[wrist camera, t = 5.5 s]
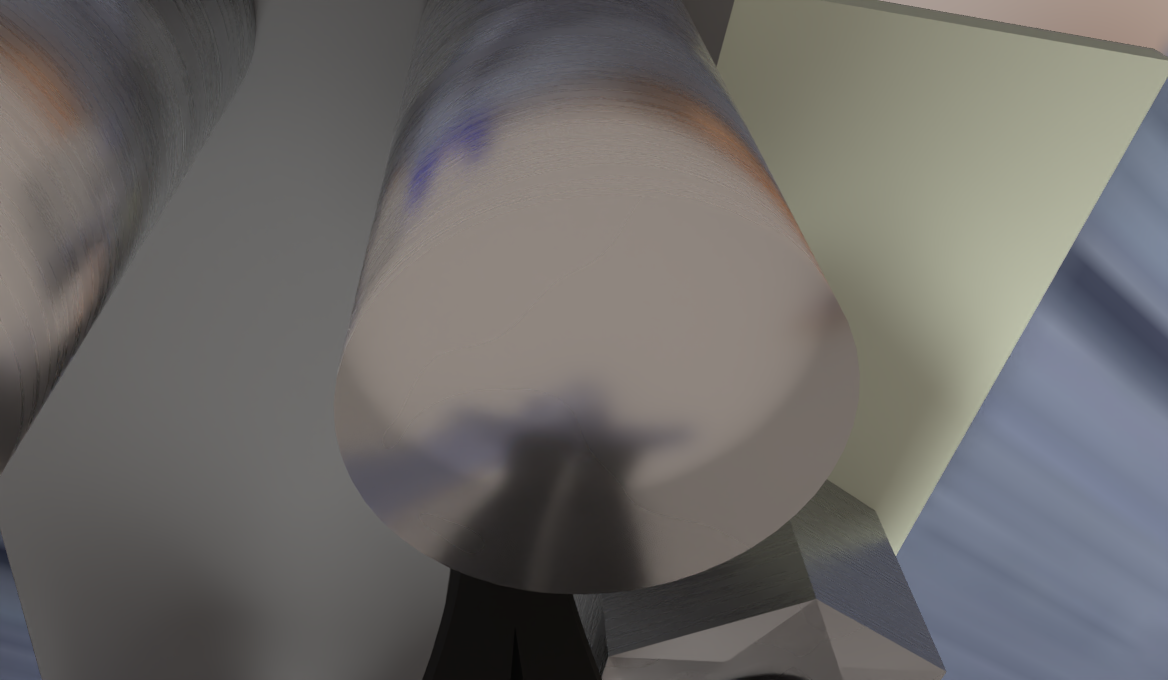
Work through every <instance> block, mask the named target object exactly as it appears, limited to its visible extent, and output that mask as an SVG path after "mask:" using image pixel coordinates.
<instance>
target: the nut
mask: <svg viewBox="0 0 1168 680" xmlns="http://www.w3.org/2000/svg"><path fill="white" fill-rule="evenodd" d="M573 596H574V600H575V603H576V606H577V610H578V613H579V616H580V619H581V622H582V625H583V628H584V631H585V634H586V637H587V639H588V642H589V645H590V648H591V651H592V653H593V656H594V659H595V662H596V664H597V667H598V670H599V672H600V675H601V677H602V680H941V679H942V677H943V676H944V674H945V673H946V670H945V667H944V665H943V663H942V660H941V658H940V656H939V654H938V651H937V649H936V647H935V645H934V642H933V640H932V638H931V636H930V633H929V631H928V629H927V626H926V624H925V622H924V620H923V617H922V615H921V613H920V611H919V608H918V606H917V604H916V602H915V599H914V597H913V595H912V592H911V590H910V588H909V586H908V583H907V581H906V579H905V577H904V574H903V572H902V570H901V568H900V565H899V563H898V561H897V558H896V556H895V554H894V552H893V549H892V547H891V545H890V543H889V540H888V538H887V536H886V534H885V531H884V529H883V527H882V524H881V522H880V520H879V518H878V515H877V513H876V511H875V510H874V509H872V508H870V507H869V506H867V505H866V504H864V503H863V502H861V501H860V500H858V499H857V498H855V497H854V496H852V495H851V494H849V493H847V492H846V491H844V490H843V489H841V488H840V487H838V486H837V485H835V484H834V483H832V482H831V481H829V480H827V479H826V481H825V482H824V483H823V485H822V486H821V487H820V489H819V490H818V491H817V493H816V494H815V495H814V496H813V497H812V498H811V499H810V500H809V501H808V502H807V503H806V505H805V506H804V507H803V508H802V509H801V510H800V511H799V512H798V513H797V514H796V515H795V516H793V517H792V518H791V519H790V520H789V521H788V522H786V523H785V524H784V525H783V526H782V527H780V528H779V529H778V530H777V531H776V532H774V533H773V534H771V535H770V536H768V537H767V538H765V539H764V540H762V541H761V542H759V543H758V544H756V545H755V546H753V547H752V548H750V549H748V550H747V551H745V552H743V553H741V554H739V555H737V556H735V557H734V558H732V559H730V560H728V561H726V562H724V563H721V564H719V565H717V566H714V567H712V568H710V569H707V570H705V571H703V572H700V573H697V574H694V575H691V576H688V577H685V578H682V579H679V580H676V581H673V582H669V583H665V584H661V585H656V586H652V587H648V588H643V589H637V590H630V591H623V592H617V593H603V594H588V595H585V594H573Z"/></svg>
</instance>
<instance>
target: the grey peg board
mask: <svg viewBox="0 0 1168 680" xmlns="http://www.w3.org/2000/svg"><path fill="white" fill-rule="evenodd" d="M255 30H256V20H255V9H254V1H253V0H0V475H1V474H2V472H3V471H4V469H5V467H6V466H7V464H8V463H9V461H10V459H11V458H12V456H13V454H14V453H15V451H16V450H17V448H18V446H19V445H20V443H21V442H22V440H23V438H24V437H25V435H26V433H27V432H28V430H29V429H30V427H31V425H32V424H33V422H34V420H35V419H36V417H37V416H38V414H39V412H40V411H41V409H42V407H43V406H44V404H45V403H46V401H47V399H48V398H49V396H50V394H51V393H52V391H53V390H54V388H55V386H56V385H57V383H58V381H59V380H60V378H61V377H62V375H63V373H64V372H65V370H66V368H67V367H68V365H69V364H70V362H71V360H72V359H73V357H74V356H75V354H76V352H77V351H78V349H79V347H80V346H81V344H82V343H83V341H84V339H85V338H86V336H87V334H88V333H89V331H90V330H91V328H92V326H93V325H94V323H95V321H96V320H97V318H98V317H99V315H100V313H101V312H102V310H103V308H104V307H105V305H106V304H107V302H108V300H109V299H110V297H111V295H112V294H113V292H114V291H115V289H116V287H117V286H118V284H119V282H120V281H121V279H122V278H123V276H124V274H125V273H126V271H127V270H128V268H129V266H130V265H131V263H132V261H133V260H134V258H135V257H136V255H137V253H138V252H139V250H140V248H141V247H142V245H143V244H144V242H145V240H146V239H147V237H148V235H149V234H150V232H151V231H152V229H153V227H154V226H155V224H156V222H157V221H158V219H159V218H160V216H161V214H162V213H163V211H164V209H165V208H166V206H167V205H168V203H169V201H170V200H171V198H172V196H173V195H174V193H175V192H176V190H177V188H178V187H179V185H180V184H181V182H182V180H183V179H184V177H185V175H186V174H187V172H188V171H189V169H190V167H191V166H192V164H193V162H194V161H195V159H196V158H197V156H198V154H199V153H200V151H201V149H202V148H203V146H204V145H205V143H206V141H207V140H208V138H209V136H210V135H211V133H212V132H213V130H214V128H215V127H216V125H217V123H218V122H219V120H220V119H221V117H222V115H223V114H224V112H225V110H226V109H227V107H228V106H229V104H230V102H231V101H232V99H233V98H234V96H235V94H236V93H237V91H238V89H239V87H240V86H241V84H242V82H243V80H244V78H245V76H246V74H247V71H248V68H249V66H250V63H251V60H252V55H253V50H254V44H255ZM859 383H860V372H859V364H858V356H857V349H856V345H855V342H854V339H853V336H852V333H851V329H850V326H849V323H848V321H847V319H846V317H845V315H844V313H843V311H842V309H841V307H840V305H839V303H838V301H837V300H836V298H835V296H834V294H833V292H832V290H831V288H830V286H829V284H828V282H827V280H826V278H825V276H824V274H823V272H822V271H821V269H820V267H819V265H818V263H817V261H816V259H815V257H814V255H813V253H812V251H811V249H810V247H809V245H808V243H807V242H806V240H805V238H804V236H803V234H802V232H801V230H800V228H799V226H798V224H797V222H796V220H795V218H794V216H793V214H792V212H791V211H790V209H789V207H788V205H787V203H786V201H785V199H784V197H783V195H782V193H781V191H780V189H779V187H778V185H777V183H776V182H775V180H774V178H773V176H772V174H771V172H770V170H769V168H768V166H767V164H766V162H765V160H764V158H763V156H762V154H761V153H760V151H759V149H758V147H757V145H756V143H755V141H754V139H753V137H752V135H751V133H750V131H749V129H748V127H747V125H746V124H745V122H744V120H743V118H742V116H741V114H740V112H739V110H738V108H737V106H736V104H735V102H734V100H733V98H732V96H731V95H730V93H729V91H728V89H727V87H726V85H725V83H724V81H723V79H722V77H721V75H720V73H719V71H718V69H717V67H716V66H715V64H714V62H713V60H712V58H711V56H710V54H709V52H708V50H707V48H706V46H705V44H704V42H703V40H702V38H701V37H700V35H699V33H698V31H697V29H696V27H695V25H694V23H693V21H692V19H691V17H690V15H689V13H688V11H687V9H686V8H685V6H684V4H683V2H682V0H428V1H427V3H426V6H425V8H424V10H423V13H422V16H421V20H420V23H419V27H418V31H417V35H416V39H415V44H414V48H413V52H412V56H411V61H410V65H409V69H408V74H407V78H406V82H405V86H404V91H403V95H402V99H401V104H400V108H399V112H398V116H397V121H396V125H395V129H394V134H393V138H392V142H391V146H390V151H389V155H388V159H387V163H386V168H385V172H384V176H383V181H382V185H381V189H380V193H379V198H378V202H377V206H376V211H375V215H374V219H373V223H372V228H371V232H370V236H369V241H368V245H367V249H366V253H365V258H364V262H363V266H362V271H361V275H360V279H359V283H358V288H357V292H356V296H355V301H354V305H353V309H352V313H351V318H350V322H349V326H348V331H347V335H346V339H345V343H344V348H343V352H342V356H341V361H340V365H339V369H338V373H337V379H336V387H335V395H334V404H333V405H334V422H335V433H336V437H337V441H338V445H339V449H340V453H341V457H342V459H343V462H344V464H345V466H346V469H347V471H348V473H349V476H350V478H351V480H352V482H353V483H354V485H355V487H356V488H357V490H358V491H359V493H360V494H361V496H362V498H363V499H364V501H365V502H366V503H367V505H368V506H369V507H370V508H371V509H372V510H373V512H374V513H375V514H376V515H377V516H378V517H379V519H380V520H381V521H382V522H383V523H384V524H385V525H387V526H388V527H389V528H390V529H391V530H392V531H393V532H394V533H396V534H397V535H398V536H399V537H400V538H401V539H402V540H404V541H405V542H407V543H408V544H410V545H411V546H413V547H414V548H415V549H417V550H418V551H420V552H421V553H423V554H424V555H426V556H428V557H430V558H432V559H434V560H435V561H437V562H439V563H441V564H443V565H445V566H447V567H449V568H451V569H454V570H456V571H459V572H461V573H464V574H466V575H469V576H471V577H474V578H477V579H480V580H484V581H487V582H491V583H494V584H497V585H501V586H506V587H511V588H516V589H521V590H526V591H533V592H543V593H553V594H585V595H588V594H603V593H617V592H623V591H630V590H637V589H643V588H648V587H652V586H656V585H661V584H665V583H669V582H673V581H676V580H679V579H682V578H685V577H688V576H691V575H694V574H697V573H700V572H703V571H705V570H707V569H710V568H712V567H714V566H717V565H719V564H721V563H724V562H726V561H728V560H730V559H732V558H734V557H735V556H737V555H739V554H741V553H743V552H745V551H747V550H748V549H750V548H752V547H753V546H755V545H756V544H758V543H759V542H761V541H762V540H764V539H765V538H767V537H768V536H770V535H771V534H773V533H774V532H776V531H777V530H778V529H779V528H780V527H782V526H783V525H784V524H785V523H786V522H788V521H789V520H790V519H791V518H792V517H793V516H795V515H796V514H797V513H798V512H799V511H800V510H801V509H802V508H803V507H804V506H805V505H806V503H807V502H808V501H809V500H810V499H811V498H812V497H813V496H814V495H815V494H816V493H817V491H818V490H819V489H820V487H821V486H822V485H823V483H824V482H825V481H826V479H827V478H828V477H829V475H830V474H831V472H832V471H833V469H834V467H835V465H836V463H837V462H838V460H839V458H840V456H841V454H842V453H843V451H844V449H845V446H846V443H847V441H848V438H849V436H850V433H851V430H852V428H853V425H854V420H855V415H856V411H857V406H858V401H859Z"/></svg>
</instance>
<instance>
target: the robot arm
mask: <svg viewBox="0 0 1168 680" xmlns="http://www.w3.org/2000/svg"><path fill="white" fill-rule="evenodd" d="M422 680H602V677H601V675H600V672H599V670H598V667H597V664H596V662H595V659H594V656H593V653H592V651H591V648H590V645H589V642H588V639H587V637H586V634H585V631H584V628H583V625H582V622H581V619H580V616H579V613H578V610H577V606H576V603H575V600H574V596H573V594H553V593H543V592H533V591H526V590H521V589H516V588H511V587H506V586H501V585H497V584H494V583H491V582H487V581H484V580H480V579H477V578H474V577H471V576H469V575H466V574H464V573H461V572H459V571H456V570H454V569H451V568H450V574H449V581H448V588H447V595H446V602H445V607H444V611H443V615H442V619H441V623H440V626H439V629H438V633H437V636H436V640H435V643H434V646H433V650H432V653H431V656H430V659H429V662H428V665H427V667H426V670H425V673H424V676H423V679H422Z"/></svg>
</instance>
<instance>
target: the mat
mask: <svg viewBox="0 0 1168 680" xmlns="http://www.w3.org/2000/svg"><path fill="white" fill-rule="evenodd" d="M253 1H254V9H255V20H256V30H255V44H254V50H253V55H252V60H251V63H250V66H249V68H248V71H247V74H246V76H245V78H244V80H243V82H242V84H241V86H240V87H239V89H238V91H237V93H236V94H235V96H234V98H233V99H232V101H231V102H230V104H229V106H228V107H227V109H226V110H225V112H224V114H223V115H222V117H221V119H220V120H219V122H218V123H217V125H216V127H215V128H214V130H213V132H212V133H211V135H210V136H209V138H208V140H207V141H206V143H205V145H204V146H203V148H202V149H201V151H200V153H199V154H198V156H197V158H196V159H195V161H194V162H193V164H192V166H191V167H190V169H189V171H188V172H187V174H186V175H185V177H184V179H183V180H182V182H181V184H180V185H179V187H178V188H177V190H176V192H175V193H174V195H173V196H172V198H171V200H170V201H169V203H168V205H167V206H166V208H165V209H164V211H163V213H162V214H161V216H160V218H159V219H158V221H157V222H156V224H155V226H154V227H153V229H152V231H151V232H150V234H149V235H148V237H147V239H146V240H145V242H144V244H143V245H142V247H141V248H140V250H139V252H138V253H137V255H136V257H135V258H134V260H133V261H132V263H131V265H130V266H129V268H128V270H127V271H126V273H125V274H124V276H123V278H122V279H121V281H120V282H119V284H118V286H117V287H116V289H115V291H114V292H113V294H112V295H111V297H110V299H109V300H108V302H107V304H106V305H105V307H104V308H103V310H102V312H101V313H100V315H99V317H98V318H97V320H96V321H95V323H94V325H93V326H92V328H91V330H90V331H89V333H88V334H87V336H86V338H85V339H84V341H83V343H82V344H81V346H80V347H79V349H78V351H77V352H76V354H75V356H74V357H73V359H72V360H71V362H70V364H69V365H68V367H67V368H66V370H65V372H64V373H63V375H62V377H61V378H60V380H59V381H58V383H57V385H56V386H55V388H54V390H53V391H52V393H51V394H50V396H49V398H48V399H47V401H46V403H45V404H44V406H43V407H42V409H41V411H40V412H39V414H38V416H37V417H36V419H35V420H34V422H33V424H32V425H31V427H30V429H29V430H28V432H27V433H26V435H25V437H24V438H23V440H22V442H21V443H20V445H19V446H18V448H17V450H16V451H15V453H14V454H13V456H12V458H11V459H10V461H9V463H8V464H7V466H6V467H5V469H4V471H3V472H2V474H1V475H0V530H1V534H2V537H3V541H4V545H5V548H6V552H7V555H8V559H9V563H10V566H11V570H12V573H13V577H14V581H15V584H16V588H17V592H18V595H19V599H20V602H21V606H22V610H23V613H24V617H25V620H26V624H27V628H28V631H29V635H30V638H31V642H32V646H33V649H34V653H35V657H36V660H37V664H38V667H39V671H40V675H41V678H42V680H422V679H423V676H424V673H425V670H426V667H427V665H428V662H429V659H430V656H431V653H432V650H433V646H434V643H435V640H436V636H437V633H438V629H439V626H440V623H441V619H442V615H443V611H444V607H445V602H446V595H447V588H448V581H449V574H450V568H449V567H447V566H445V565H443V564H441V563H439V562H437V561H435V560H434V559H432V558H430V557H428V556H426V555H424V554H423V553H421V552H420V551H418V550H417V549H415V548H414V547H413V546H411V545H410V544H408V543H407V542H405V541H404V540H402V539H401V538H400V537H399V536H398V535H397V534H396V533H394V532H393V531H392V530H391V529H390V528H389V527H388V526H387V525H385V524H384V523H383V522H382V521H381V520H380V519H379V517H378V516H377V515H376V514H375V513H374V512H373V510H372V509H371V508H370V507H369V506H368V505H367V503H366V502H365V501H364V499H363V498H362V496H361V494H360V493H359V491H358V490H357V488H356V487H355V485H354V483H353V482H352V480H351V478H350V476H349V473H348V471H347V469H346V466H345V464H344V462H343V459H342V457H341V453H340V449H339V445H338V441H337V437H336V433H335V422H334V405H333V404H334V395H335V387H336V379H337V373H338V369H339V365H340V361H341V356H342V352H343V348H344V343H345V339H346V335H347V331H348V326H349V322H350V318H351V313H352V309H353V305H354V301H355V296H356V292H357V288H358V283H359V279H360V275H361V271H362V266H363V262H364V258H365V253H366V249H367V245H368V241H369V236H370V232H371V228H372V223H373V219H374V215H375V211H376V206H377V202H378V198H379V193H380V189H381V185H382V181H383V176H384V172H385V168H386V163H387V159H388V155H389V151H390V146H391V142H392V138H393V134H394V129H395V125H396V121H397V116H398V112H399V108H400V104H401V99H402V95H403V91H404V86H405V82H406V78H407V74H408V69H409V65H410V61H411V56H412V52H413V48H414V44H415V39H416V35H417V31H418V27H419V23H420V20H421V16H422V13H423V10H424V8H425V6H426V3H427V1H428V0H253ZM682 2H683V4H684V6H685V8H686V9H687V11H688V13H689V15H690V17H691V19H692V21H693V23H694V25H695V27H696V29H697V31H698V33H699V35H700V37H701V38H702V40H703V42H704V44H705V46H706V48H707V50H708V52H709V54H710V56H711V58H712V60H713V62H714V64H715V66H716V67H717V69H718V71H719V73H720V75H721V77H722V79H723V81H724V83H725V85H726V87H727V89H728V91H729V93H730V95H731V96H732V98H733V100H734V102H735V104H736V106H737V108H738V110H739V112H740V114H741V116H742V118H743V120H744V122H745V124H746V125H747V127H748V129H749V131H750V133H751V135H752V137H753V139H754V141H755V143H756V145H757V147H758V149H759V151H760V153H761V154H762V156H763V158H764V160H765V162H766V164H767V166H768V168H769V170H770V172H771V174H772V176H773V178H774V180H775V182H776V183H777V185H778V187H779V189H780V191H781V193H782V195H783V197H784V199H785V201H786V203H787V205H788V207H789V209H790V211H791V212H792V214H793V216H794V218H795V220H796V222H797V224H798V226H799V228H800V230H801V232H802V234H803V236H804V238H805V240H806V242H807V243H808V245H809V247H810V249H811V251H812V253H813V255H814V257H815V259H816V261H817V263H818V265H819V267H820V269H821V271H822V272H823V274H824V276H825V278H826V280H827V282H828V284H829V286H830V288H831V290H832V292H833V294H834V296H835V298H836V300H837V301H838V303H839V305H840V307H841V309H842V311H843V313H844V315H845V317H846V319H847V321H848V323H849V326H850V329H851V333H852V336H853V339H854V342H855V345H856V349H857V356H858V364H859V372H860V383H859V401H858V406H857V411H856V415H855V420H854V425H853V428H852V430H851V433H850V436H849V438H848V441H847V443H846V446H845V449H844V451H843V453H842V454H841V456H840V458H839V460H838V462H837V463H836V465H835V467H834V469H833V471H832V472H831V474H830V475H829V477H828V478H827V480H829V481H831V482H832V483H834V484H835V485H837V486H838V487H840V488H841V489H843V490H844V491H846V492H847V493H849V494H851V495H852V496H854V497H855V498H857V499H858V500H860V501H861V502H863V503H864V504H866V505H867V506H869V507H870V508H872V509H874V510H875V511H876V513H877V515H878V518H879V520H880V522H881V524H882V527H883V529H884V531H885V534H886V536H887V538H888V540H889V543H890V545H891V547H892V549H893V552H894V554H895V556H896V555H897V553H898V551H899V549H900V548H901V546H902V544H903V542H904V541H905V539H906V537H907V535H908V534H909V532H910V530H911V528H912V527H913V525H914V523H915V521H916V519H917V518H918V516H919V514H920V512H921V511H922V509H923V507H924V505H925V504H926V502H927V500H928V498H929V497H930V495H931V493H932V491H933V489H934V488H935V486H936V484H937V482H938V481H939V479H940V477H941V475H942V474H943V472H944V470H945V468H946V467H947V465H948V463H949V461H950V460H951V458H952V456H953V454H954V452H955V451H956V449H957V447H958V445H959V444H960V442H961V440H962V438H963V437H964V435H965V433H966V431H967V430H968V428H969V426H970V424H971V422H972V421H973V419H974V417H975V415H976V414H977V412H978V410H979V408H980V407H981V405H982V403H983V401H984V400H985V398H986V396H987V394H988V393H989V391H990V389H991V387H992V385H993V384H994V382H995V380H996V378H997V377H998V375H999V373H1000V371H1001V370H1002V368H1003V366H1004V364H1005V363H1006V361H1007V359H1008V357H1009V356H1010V354H1011V352H1012V350H1013V348H1014V347H1015V345H1016V343H1017V341H1018V340H1019V338H1020V336H1021V334H1022V333H1023V331H1024V329H1025V327H1026V326H1027V324H1028V322H1029V320H1030V318H1031V317H1032V315H1033V313H1034V311H1035V310H1036V308H1037V306H1038V304H1039V303H1040V301H1041V299H1042V297H1043V296H1044V294H1045V292H1046V290H1047V289H1048V287H1049V285H1050V283H1051V281H1052V280H1053V278H1054V276H1055V274H1056V273H1057V271H1058V269H1059V267H1060V266H1061V264H1062V262H1063V260H1064V259H1065V257H1066V255H1067V253H1068V251H1069V250H1070V248H1071V246H1072V244H1073V243H1074V241H1075V239H1076V237H1077V236H1078V234H1079V232H1080V230H1081V229H1082V227H1083V225H1084V223H1085V222H1086V220H1087V218H1088V216H1089V214H1090V213H1091V211H1092V209H1093V207H1094V206H1095V204H1096V202H1097V200H1098V199H1099V197H1100V195H1101V193H1102V192H1103V190H1104V188H1105V186H1106V184H1107V183H1108V181H1109V179H1110V177H1111V176H1112V174H1113V172H1114V170H1115V169H1116V167H1117V165H1118V163H1119V162H1120V160H1121V158H1122V156H1123V155H1124V153H1125V151H1126V149H1127V147H1128V146H1129V144H1130V142H1131V140H1132V139H1133V137H1134V135H1135V133H1136V132H1137V130H1138V128H1139V126H1140V125H1141V123H1142V121H1143V119H1144V117H1145V116H1146V114H1147V112H1148V110H1149V109H1150V107H1151V105H1152V103H1153V102H1154V100H1155V98H1156V96H1157V95H1158V93H1159V91H1160V89H1161V88H1162V86H1163V84H1164V82H1165V80H1166V79H1167V77H1168V57H1167V56H1165V55H1163V54H1162V53H1160V52H1158V51H1157V50H1155V49H1152V48H1146V47H1140V46H1134V45H1129V44H1123V43H1118V42H1112V41H1106V40H1100V39H1094V38H1089V37H1083V36H1078V35H1072V34H1066V33H1061V32H1055V31H1049V30H1043V29H1038V28H1032V27H1026V26H1021V25H1015V24H1009V23H1004V22H998V21H992V20H987V19H981V18H975V17H969V16H964V15H958V14H952V13H947V12H941V11H935V10H930V9H924V8H918V7H913V6H907V5H901V4H896V3H890V2H884V1H878V0H682Z"/></svg>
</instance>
